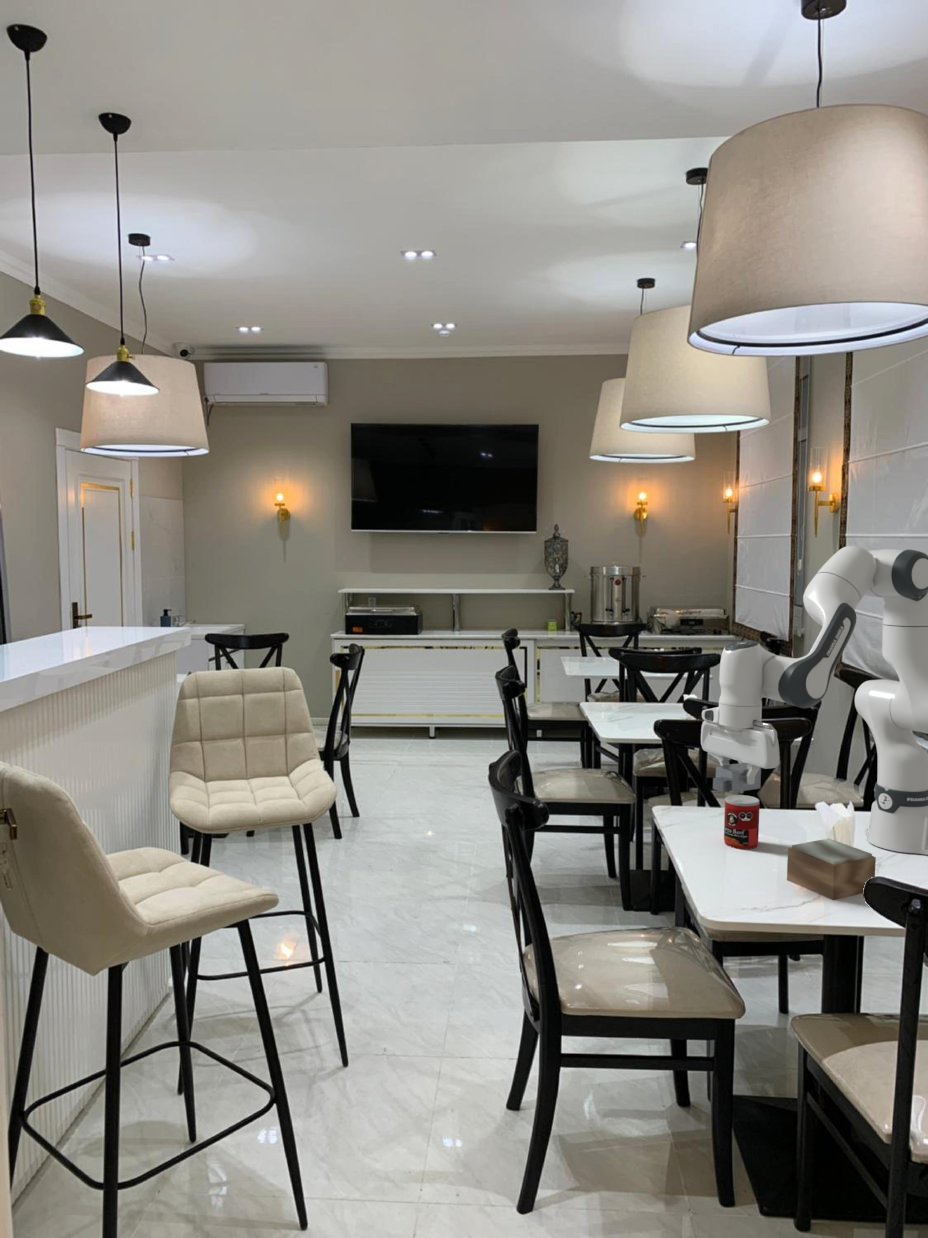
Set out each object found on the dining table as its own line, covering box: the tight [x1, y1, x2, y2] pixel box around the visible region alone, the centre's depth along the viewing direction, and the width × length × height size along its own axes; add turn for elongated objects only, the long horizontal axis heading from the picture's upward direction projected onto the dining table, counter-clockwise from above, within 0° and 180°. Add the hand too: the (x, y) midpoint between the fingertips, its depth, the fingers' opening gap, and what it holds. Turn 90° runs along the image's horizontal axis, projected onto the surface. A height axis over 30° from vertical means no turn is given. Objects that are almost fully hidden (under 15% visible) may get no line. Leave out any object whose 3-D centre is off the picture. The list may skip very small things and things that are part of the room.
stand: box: [786, 838, 877, 901], centre depth 185 cm, size 12×12×8 cm
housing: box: [712, 762, 762, 793], centre depth 190 cm, size 10×5×4 cm, turn 116°
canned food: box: [723, 794, 761, 850], centre depth 211 cm, size 8×8×11 cm
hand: (738, 780), depth 191 cm, fingers closed on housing, 5 cm apart
